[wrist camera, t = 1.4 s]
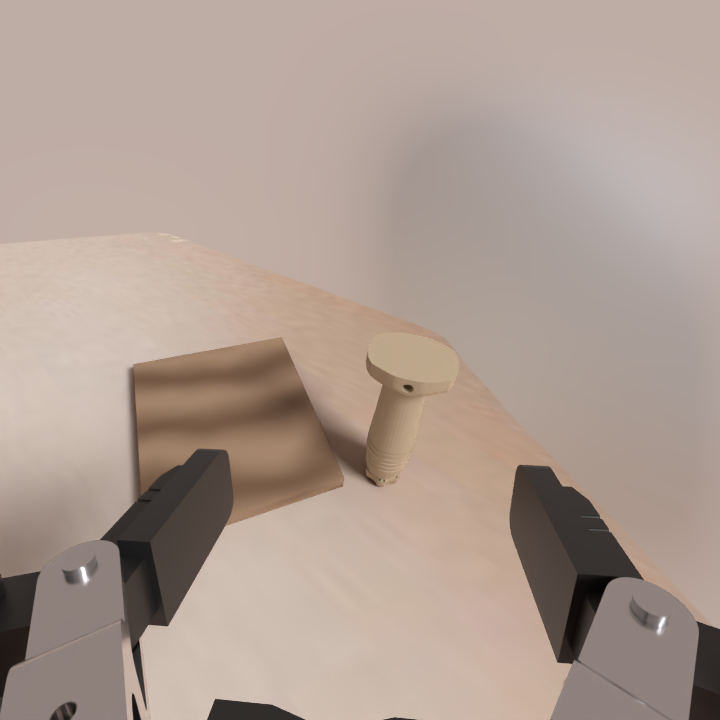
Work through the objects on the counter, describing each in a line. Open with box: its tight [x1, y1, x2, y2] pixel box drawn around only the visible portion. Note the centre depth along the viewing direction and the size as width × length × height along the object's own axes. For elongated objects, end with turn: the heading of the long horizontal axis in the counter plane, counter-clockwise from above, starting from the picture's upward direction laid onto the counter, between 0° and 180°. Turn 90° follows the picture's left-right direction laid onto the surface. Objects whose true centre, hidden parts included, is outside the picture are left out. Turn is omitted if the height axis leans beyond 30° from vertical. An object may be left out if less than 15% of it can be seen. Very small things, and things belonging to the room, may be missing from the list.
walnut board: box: [133, 337, 344, 526], centre depth 40 cm, size 20×16×2 cm
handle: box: [365, 333, 459, 487], centre depth 33 cm, size 5×6×15 cm
